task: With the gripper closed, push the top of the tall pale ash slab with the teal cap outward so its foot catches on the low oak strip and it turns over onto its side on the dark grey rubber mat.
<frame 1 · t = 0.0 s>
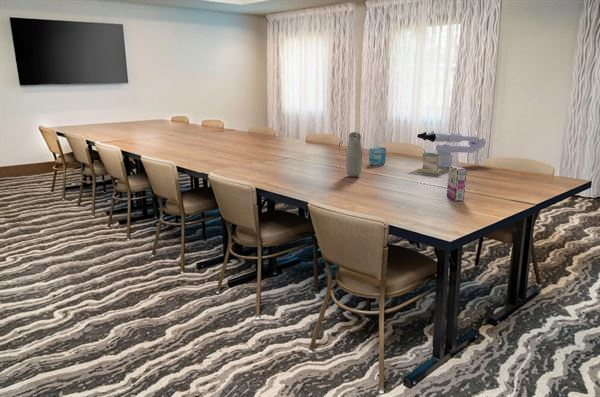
hand: (420, 136, 311), 22 cm above the table, tool horizontal, fingers open, 7 cm apart
glass bottle: (353, 176, 293), on the table
ash slab: (429, 171, 303), resting on rubber mat
rubber mat: (428, 173, 300), on the table
candy bar box: (455, 199, 239), on the table
data package: (377, 164, 332), on the table
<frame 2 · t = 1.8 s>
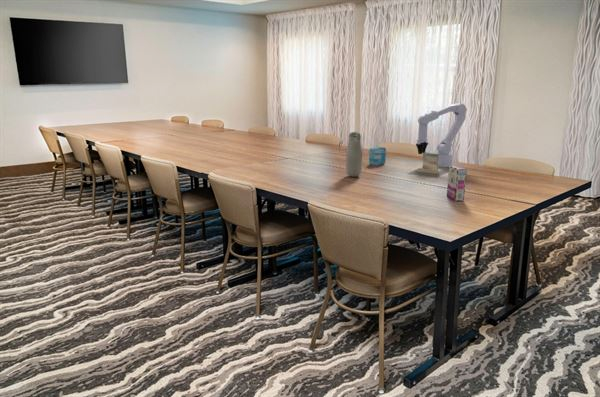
hand: (421, 153, 319), 9 cm above the table, tool pointing down, fingers open, 5 cm apart
nothing on the table moved.
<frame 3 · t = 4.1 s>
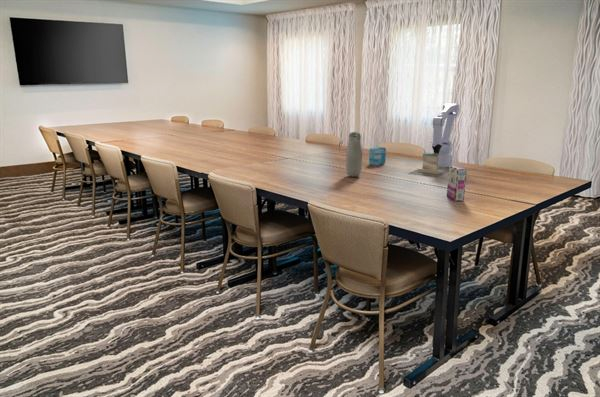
hand: (436, 156, 309), 9 cm above the table, tool pointing down, fingers closed
nothing on the table moved.
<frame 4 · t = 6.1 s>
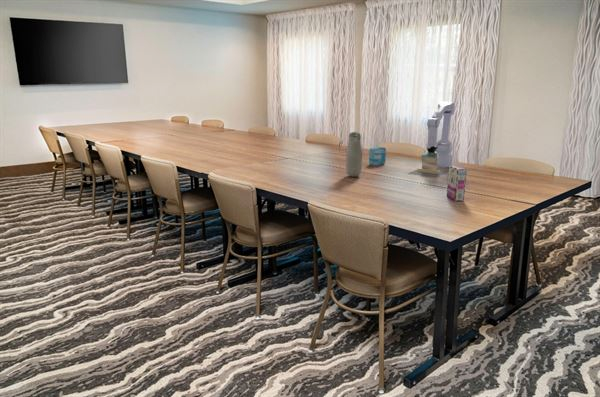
hand: (431, 158, 301), 9 cm above the table, tool pointing down, fingers closed
ash slab: (430, 170, 303), point 1 cm above the table, tilted 16°, touching gripper, rubber mat
everything else where it was.
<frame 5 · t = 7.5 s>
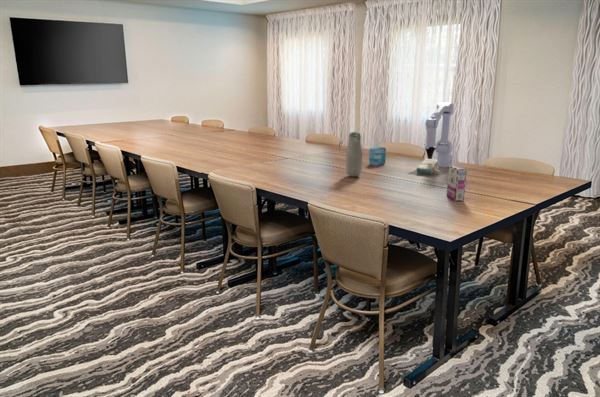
hand: (429, 158, 299), 9 cm above the table, tool pointing down, fingers closed
ash slab: (430, 163, 301), point 6 cm above the table, tilted 106°, touching rubber mat
everything else where it was.
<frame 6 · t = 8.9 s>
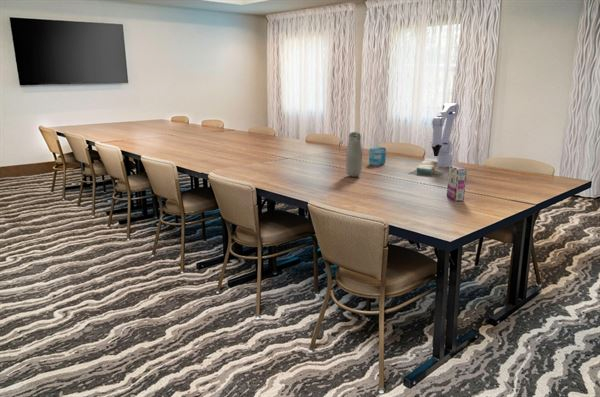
hand: (435, 156, 308), 9 cm above the table, tool pointing down, fingers closed
nothing on the table moved.
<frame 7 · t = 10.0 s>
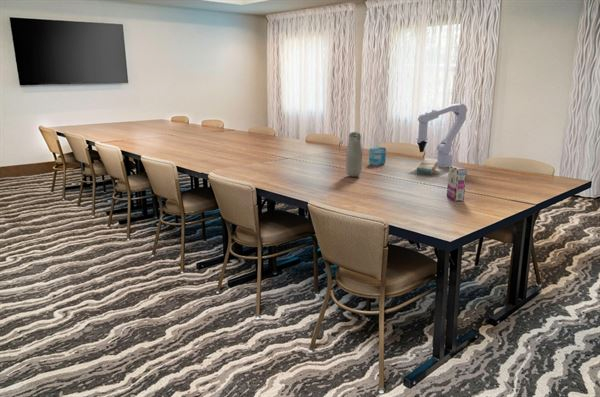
hand: (421, 152, 319), 10 cm above the table, tool pointing down, fingers closed
nothing on the table moved.
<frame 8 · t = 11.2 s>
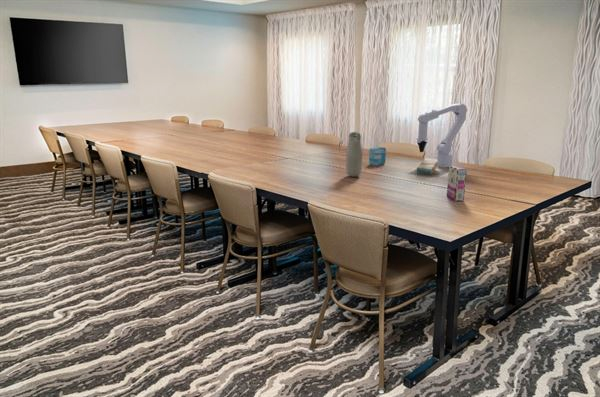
hand: (421, 152, 319), 10 cm above the table, tool pointing down, fingers closed
nothing on the table moved.
at the end: ash slab tilted 106°; ash slab inside the target area (3.1 cm from its centre), point 5.7 cm above the table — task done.
